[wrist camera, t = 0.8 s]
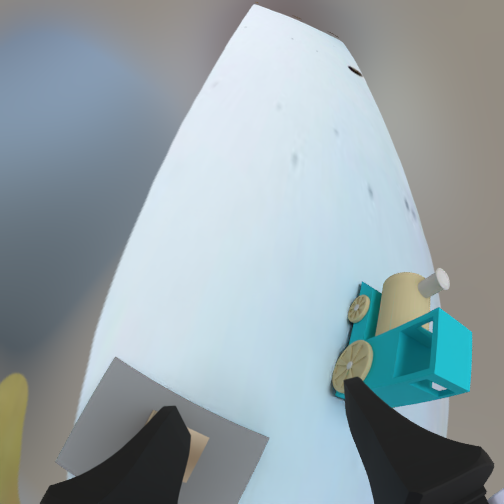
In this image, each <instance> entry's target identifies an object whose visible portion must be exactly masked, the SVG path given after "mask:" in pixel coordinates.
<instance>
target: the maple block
mask: <svg viewBox="0 0 504 504" xmlns="http://www.w3.org/2000/svg"><path fill="white" fill-rule="evenodd" d="M156 413H157V411H155V410H153V411H152V413H151V415H150V416H149V418H148V420H147V422H146V424H147V423H148V422H149V421H150V420H151V418H152V417H153V416H154V415H155V414H156ZM146 424H145V425H146ZM187 428H188V427H187ZM188 430H189V432H190V434H191V444H190V453H189V458H188V462H187V466H186V470H185V473H184V477H183V482H185V483H186V482H187V480H188V479H189V477H190V475H191V473H192V471H193V469H194V467H195V465H196V463H197V462H198V460H199V458H200V456H201V454H202V452H203V450H204V448H205V446H206V444H207V442H208V440H209V437H207V436H204V435H202V434H200V433H198V432H196V431H194V430H192V429H190V428H188Z"/></svg>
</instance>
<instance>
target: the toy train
mask: <svg viewBox="0 0 504 504" xmlns="http://www.w3.org/2000/svg"><path fill="white" fill-rule="evenodd" d="M449 286H450V284H449V278H448V276H447V274H446V272H444V270H442V269H441V268H438V269H437V270H436V272H435V273H434V274H432V275H431V276H429V277H427V278H426V279H425V278H424V277H422V276H421V275H418V274H415V273H410V272H402V273H397V274H394V275H392V276H390V277H389V278H388V279H386V281H385V282H384V284H383V290H382V293H380V292H378V291H377V290H375V289H374V288H372V287H370V286H369V285H367V284H366V283H364V282H362V284H361V290H360V295H359V297H357V298H356V299H355V300H354V302H353V303H352V305H351V307H350V309H349V313H348V319H349V321H351V322H352V323H354V324H353V328H352V333H351V337H350V341H349V346H348V347H347V348H346V349H345V350H344V351H343V353H342V354H341V356H340V357H339V359H338V361H337V363H336V365H335V368H334V371H333V377H332V383H333V387H334V388H335V390H336V394H335V396H338V397H340V398H343V399H345V395H344V382H343V380H345V379H349V378H353V377H357V376H358V377H360V378H361V379H362V381H363V382H364V383H365V384H366V385H367V386H368V387H369V388H370V389H371V390H372V391H373V392H374V393H375V394H376V395H377V396H378V397H380V398H381V399H382V400H383V401H384V402H385V403H387V404H388V405H389V406H390V407H391V408H395V407H399V406H405V405H411V404H417V403H422V402H427V401H432V400H437V399H441V398H446V397H450V396H454V395H458V394H462V393H465V392H469V391H470V380H471V364H472V363H471V362H472V332H471V331H470V330H468V329H467V328H466V327H465V326H463V325H462V324H461V323H459V322H458V321H457V320H455V319H454V318H453V317H451V316H450V315H449V314H447V313H446V312H444V311H443V310H442V309H440V308H439V307H438V308H436V309H434V310H432V311H430V297H431V296H432V295H434V294H436V293H438V292H440V291H442V290H443V289H444V290H448V289H449ZM431 321H433V333H431V332H429V322H431ZM432 382H434V383H436V384H438V385H440V386H443V387H445V388H447V389H446V390H442V391H438V390H435V389H433V388H432Z"/></svg>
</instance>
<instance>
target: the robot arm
mask: <svg viewBox="0 0 504 504" xmlns="http://www.w3.org/2000/svg"><path fill="white" fill-rule="evenodd" d="M343 382H344V395H345V409H346V416H347V420H348V424H349V427H350V431H351V434H352V437H353V439H354V442H355V444H356V447H357V449H358V452H359V454H360V457H361V459H362V462H363V465H364V467H365V470H366V472H367V475H368V479H369V482H370V486H371V491H372V495H373V499H374V504H504V488H503V489H502V490H500V491H499V492H497V493H496V494H494V495H493V496H492V497H490V498H489V499H488V500H487V499H486V497H485V494H486V489H485V488H484V486H483V485H484V484H485V482H486V481H487V479H488V477H489V476H490V475H491V473H492V471H493V468H494V463H493V461H492V460H491V459H490V457H489V456H488V454H487V453H486V452H485V451H484V450H483V449H482V448H481V447H479V446H474V445H469V444H464V443H460V442H456V441H453V440H450V439H447V438H444V437H442V436H440V435H437V434H435V433H432V432H430V431H428V430H426V429H424V428H422V427H420V426H418V425H417V424H415V423H413V422H411V421H410V420H408V419H407V418H405V417H404V416H402V415H401V414H399V413H398V412H397V411H395V410H394V409H393V408H391V407H390V406H389V405H388V404H387V403H385V402H384V401H383V400H382V399H381V398H380V397H378V396H377V395H376V394H375V393H374V392H373V391H372V390H371V389H370V388H369V387H368V386H367V385H366V384H365V383H364V382H363V381H362V379H361V378H360V377H358V376H357V377H353V378H349V379H345V380H343ZM190 444H191V434H190V432H189V430H188V428H187V427H186V425H185V423H184V421H183V419H182V417H181V415H180V413H179V411H178V409H177V407H176V406H163V407H162V408H161V409H160V410H159V411H158V412H157V413H156V414H155V415H154V416H153V417H152V418H151V420H150V421H149V422H148V423H147V424H146V425H145V426H144V427H143V428H142V429H141V430H140V431H139V432H138V433H137V434H136V435H135V436H134V437H133V438H132V439H131V440H130V441H129V442H128V443H126V444H125V445H124V446H123V447H122V448H121V449H120V450H119V451H117V452H116V453H115V454H114V455H112V456H111V457H109V458H108V459H107V460H105V461H104V462H102V463H101V464H99V465H97V466H96V467H94V468H92V469H90V470H89V471H87V472H85V473H83V474H81V475H79V476H76V477H74V478H72V479H69V480H66V481H63V482H60V483H57V484H54V485H50V486H49V488H48V490H47V491H46V493H45V495H44V497H43V499H42V500H41V502H40V504H178V498H179V493H180V489H181V485H182V481H183V477H184V473H185V470H186V466H187V462H188V458H189V453H190Z"/></svg>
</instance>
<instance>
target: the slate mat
mask: <svg viewBox="0 0 504 504" xmlns="http://www.w3.org/2000/svg"><path fill="white" fill-rule="evenodd" d="M163 406H176V407H177V409H178V411H179V413H180V415H181V417H182V419H183V421H184V423H185V425H186V427H188V428H190V429H192V430H194V431H196V432H198V433H200V434H202V435H204V436H207V437H209V440H208V442H207V444H206V446H205V448H204V450H203V452H202V454H201V456H200V458H199V460H198V462H197V463H196V465H195V467H194V469H193V471H192V473H191V475H190V477H189V479H188V480H187V482H186V483H185V482H183V481H182V485H181V489H180V493H179V498H178V504H238V502H239V500H240V498H241V496H242V494H243V492H244V490H245V488H246V486H247V484H248V482H249V480H250V478H251V476H252V474H253V472H254V470H255V468H256V466H257V464H258V462H259V459H260V457H261V455H262V453H263V451H264V449H265V446H266V444H267V442H268V440H269V437H266V436H264V435H261V434H259V433H256V432H254V431H252V430H249V429H247V428H245V427H242V426H240V425H238V424H235V423H233V422H231V421H229V420H227V419H225V418H222V417H220V416H218V415H216V414H214V413H212V412H210V411H208V410H206V409H204V408H202V407H200V406H198V405H196V404H194V403H192V402H190V401H188V400H187V399H185V398H183V397H181V396H179V395H177V394H176V393H174V392H172V391H170V390H168V389H167V388H165V387H163V386H161V385H160V384H158V383H156V382H155V381H153V380H151V379H150V378H148V377H146V376H145V375H143V374H142V373H140V372H138V371H137V370H135V369H134V368H132V367H130V366H129V365H127V364H126V363H124V362H123V361H121V360H120V359H118V358H117V357H115V358H114V360H113V361H112V363H111V365H110V366H109V368H108V370H107V371H106V373H105V374H104V376H103V378H102V379H101V381H100V383H99V385H98V386H97V388H96V390H95V391H94V393H93V395H92V396H91V398H90V400H89V402H88V403H87V405H86V407H85V409H84V410H83V412H82V414H81V416H80V417H79V419H78V421H77V423H76V424H75V426H74V428H73V430H72V432H71V434H70V435H69V437H68V439H67V441H66V443H65V445H64V447H63V449H62V450H61V452H60V454H59V456H58V458H57V460H56V463H57V464H58V465H60V466H61V467H63V468H64V469H66V470H67V471H69V472H70V473H72V474H73V475H75V476H79V475H81V474H83V473H85V472H87V471H89V470H90V469H92V468H94V467H96V466H97V465H99V464H101V463H102V462H104V461H105V460H107V459H108V458H109V457H111V456H112V455H114V454H115V453H116V452H117V451H119V450H120V449H121V448H122V447H123V446H124V445H125V444H126V443H128V442H129V441H130V440H131V439H132V438H133V437H134V436H135V435H136V434H137V433H138V432H139V431H140V430H141V429H142V428H143V427H144V426H145V424H146V422H147V420H148V418H149V416H150V415H151V413H152V411H153V410H155V411H157V412H158V411H159V410H160V409H161V408H162V407H163Z"/></svg>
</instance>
